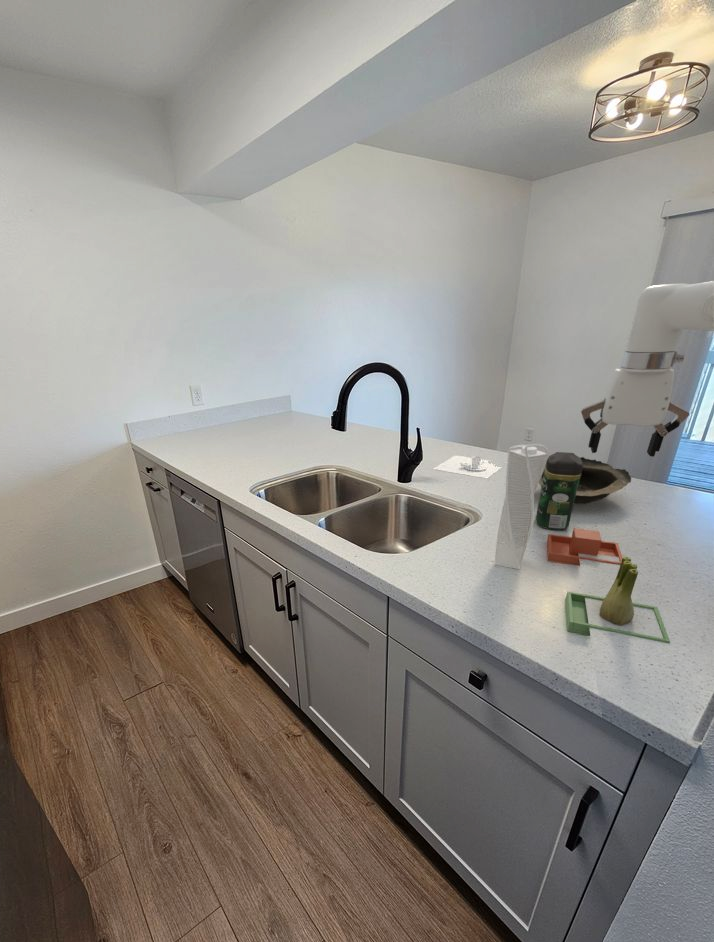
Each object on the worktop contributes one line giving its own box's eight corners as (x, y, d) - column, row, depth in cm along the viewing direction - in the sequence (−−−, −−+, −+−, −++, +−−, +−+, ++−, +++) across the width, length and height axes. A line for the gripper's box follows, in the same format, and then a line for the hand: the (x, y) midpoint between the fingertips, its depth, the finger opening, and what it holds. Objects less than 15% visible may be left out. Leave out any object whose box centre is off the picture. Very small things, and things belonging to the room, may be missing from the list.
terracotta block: (593, 550, 100) (599, 531, 98) (595, 560, 96) (601, 540, 94) (569, 547, 102) (573, 527, 100) (570, 556, 98) (575, 537, 96)
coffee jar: (534, 514, 120) (547, 448, 112) (566, 518, 117) (582, 450, 109) (534, 529, 112) (549, 459, 104) (569, 533, 109) (587, 461, 101)
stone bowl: (600, 482, 138) (609, 454, 133) (636, 520, 117) (648, 489, 112) (517, 480, 142) (523, 453, 137) (538, 517, 121) (546, 486, 117)
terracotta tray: (615, 550, 101) (617, 542, 100) (621, 572, 92) (624, 564, 91) (546, 541, 106) (548, 533, 105) (547, 561, 98) (549, 553, 97)
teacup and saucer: (457, 469, 158) (459, 458, 156) (466, 463, 163) (467, 452, 161) (481, 473, 153) (483, 461, 151) (490, 467, 158) (491, 456, 156)
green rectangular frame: (653, 616, 79) (657, 606, 78) (666, 651, 71) (670, 641, 70) (565, 600, 85) (567, 591, 84) (567, 631, 77) (570, 621, 76)
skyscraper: (524, 574, 94) (550, 446, 81) (488, 566, 97) (507, 443, 85) (528, 557, 100) (552, 436, 87) (493, 551, 103) (512, 434, 91)
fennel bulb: (603, 608, 81) (620, 552, 76) (634, 619, 78) (655, 561, 72) (592, 622, 78) (610, 564, 72) (624, 634, 74) (645, 575, 69)
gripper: (700, 359, 79) (669, 450, 87) (590, 360, 86) (571, 445, 94) (713, 363, 73) (679, 461, 81) (593, 364, 80) (573, 455, 88)
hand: (621, 452), depth 87 cm, fingers open, 9 cm apart
